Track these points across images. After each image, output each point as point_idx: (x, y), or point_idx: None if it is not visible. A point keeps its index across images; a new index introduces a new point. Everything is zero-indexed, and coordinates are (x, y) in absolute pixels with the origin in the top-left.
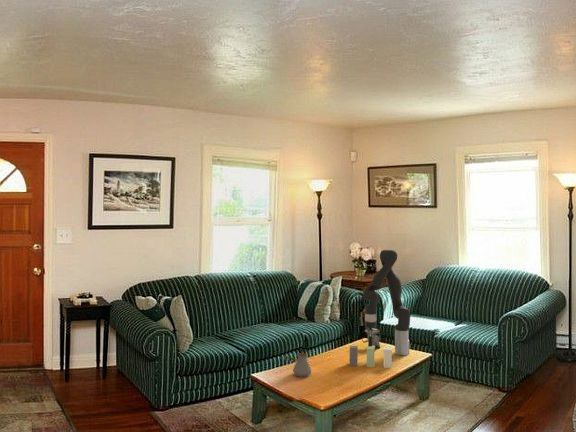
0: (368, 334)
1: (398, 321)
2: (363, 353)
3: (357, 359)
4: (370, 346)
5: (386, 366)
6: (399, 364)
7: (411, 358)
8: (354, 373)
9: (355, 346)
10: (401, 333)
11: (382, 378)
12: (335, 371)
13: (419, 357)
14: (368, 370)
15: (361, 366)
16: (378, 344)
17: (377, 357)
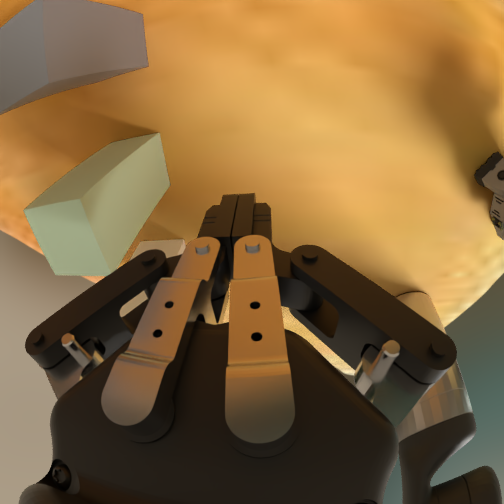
0: (32, 343)
1: (415, 494)
2: (424, 106)
3: (133, 67)
4: (95, 239)
5: None
6: (226, 308)
7: None
8: (6, 113)
9: (23, 71)
10: (399, 425)
11: (24, 240)
12: (5, 20)
13: (343, 362)
14: (61, 167)
15: (102, 109)
16: (498, 233)
17: (340, 201)
